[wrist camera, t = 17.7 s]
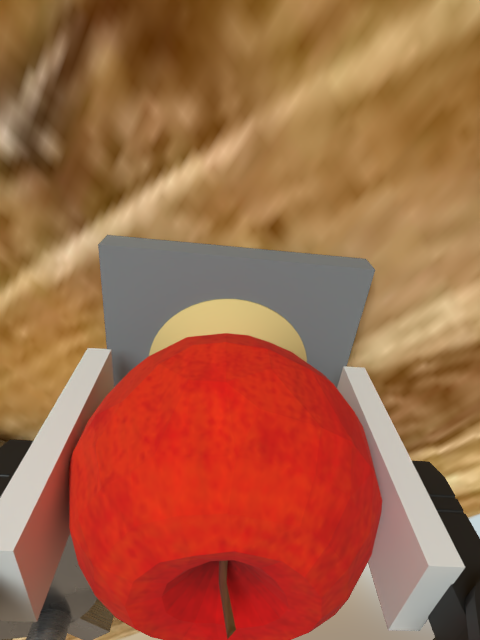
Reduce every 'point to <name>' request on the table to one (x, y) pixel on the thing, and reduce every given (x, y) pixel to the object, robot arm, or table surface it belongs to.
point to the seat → (229, 299)
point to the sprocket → (64, 606)
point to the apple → (223, 494)
